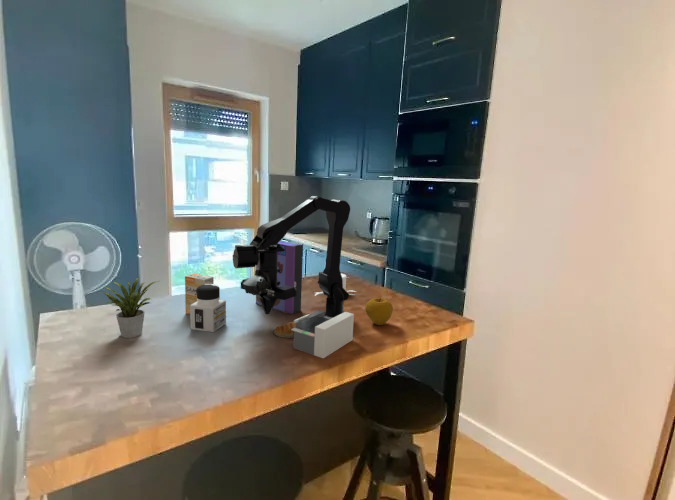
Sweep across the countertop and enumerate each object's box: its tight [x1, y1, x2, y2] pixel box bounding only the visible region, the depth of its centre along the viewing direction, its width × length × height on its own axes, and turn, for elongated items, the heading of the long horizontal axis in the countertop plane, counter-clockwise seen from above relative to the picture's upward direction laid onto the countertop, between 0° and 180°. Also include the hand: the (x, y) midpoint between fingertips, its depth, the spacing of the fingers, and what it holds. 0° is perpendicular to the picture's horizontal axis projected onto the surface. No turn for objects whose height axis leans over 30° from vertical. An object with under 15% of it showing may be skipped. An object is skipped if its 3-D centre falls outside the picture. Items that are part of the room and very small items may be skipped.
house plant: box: [103, 277, 160, 339], centre depth 107 cm, size 14×14×16 cm
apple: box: [364, 297, 394, 326], centre depth 123 cm, size 9×9×9 cm
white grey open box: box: [291, 311, 355, 359], centre depth 106 cm, size 15×11×8 cm
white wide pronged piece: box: [313, 273, 357, 297], centre depth 155 cm, size 20×19×8 cm
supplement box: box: [184, 273, 215, 315], centre depth 124 cm, size 8×5×13 cm, turn 68°
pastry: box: [273, 321, 296, 339], centre depth 112 cm, size 9×7×4 cm
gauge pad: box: [293, 309, 325, 334], centre depth 108 cm, size 13×2×8 cm, turn 147°
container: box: [189, 284, 227, 333], centre depth 114 cm, size 8×8×13 cm
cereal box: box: [255, 240, 304, 315], centre depth 133 cm, size 17×5×24 cm, turn 56°
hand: (267, 314), depth 118 cm, fingers closed
